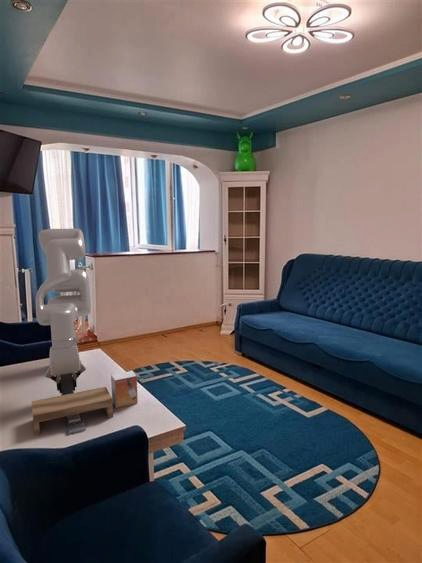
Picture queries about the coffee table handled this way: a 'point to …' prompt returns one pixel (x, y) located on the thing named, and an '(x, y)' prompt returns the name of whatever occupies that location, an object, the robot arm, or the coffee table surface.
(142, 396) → the coffee table surface
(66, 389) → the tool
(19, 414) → the coffee table surface
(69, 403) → the bench
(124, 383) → the small box
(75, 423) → the token
